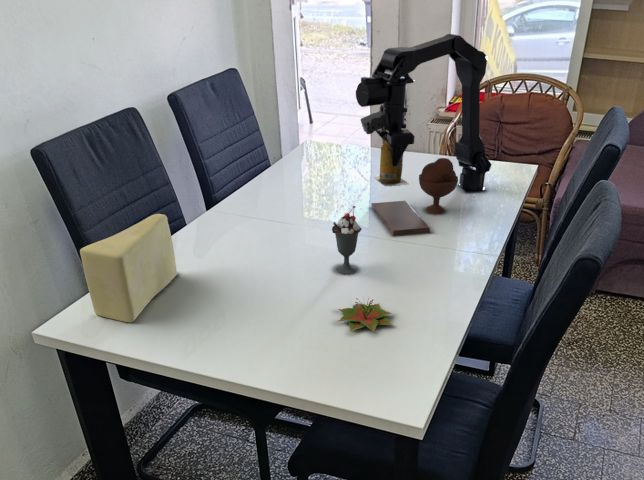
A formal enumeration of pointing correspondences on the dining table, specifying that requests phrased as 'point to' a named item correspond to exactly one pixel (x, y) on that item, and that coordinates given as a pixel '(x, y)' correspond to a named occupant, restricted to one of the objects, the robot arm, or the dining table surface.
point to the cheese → (129, 268)
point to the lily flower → (365, 316)
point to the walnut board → (400, 218)
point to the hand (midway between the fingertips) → (391, 162)
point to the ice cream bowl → (438, 182)
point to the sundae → (346, 240)
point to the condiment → (389, 167)
